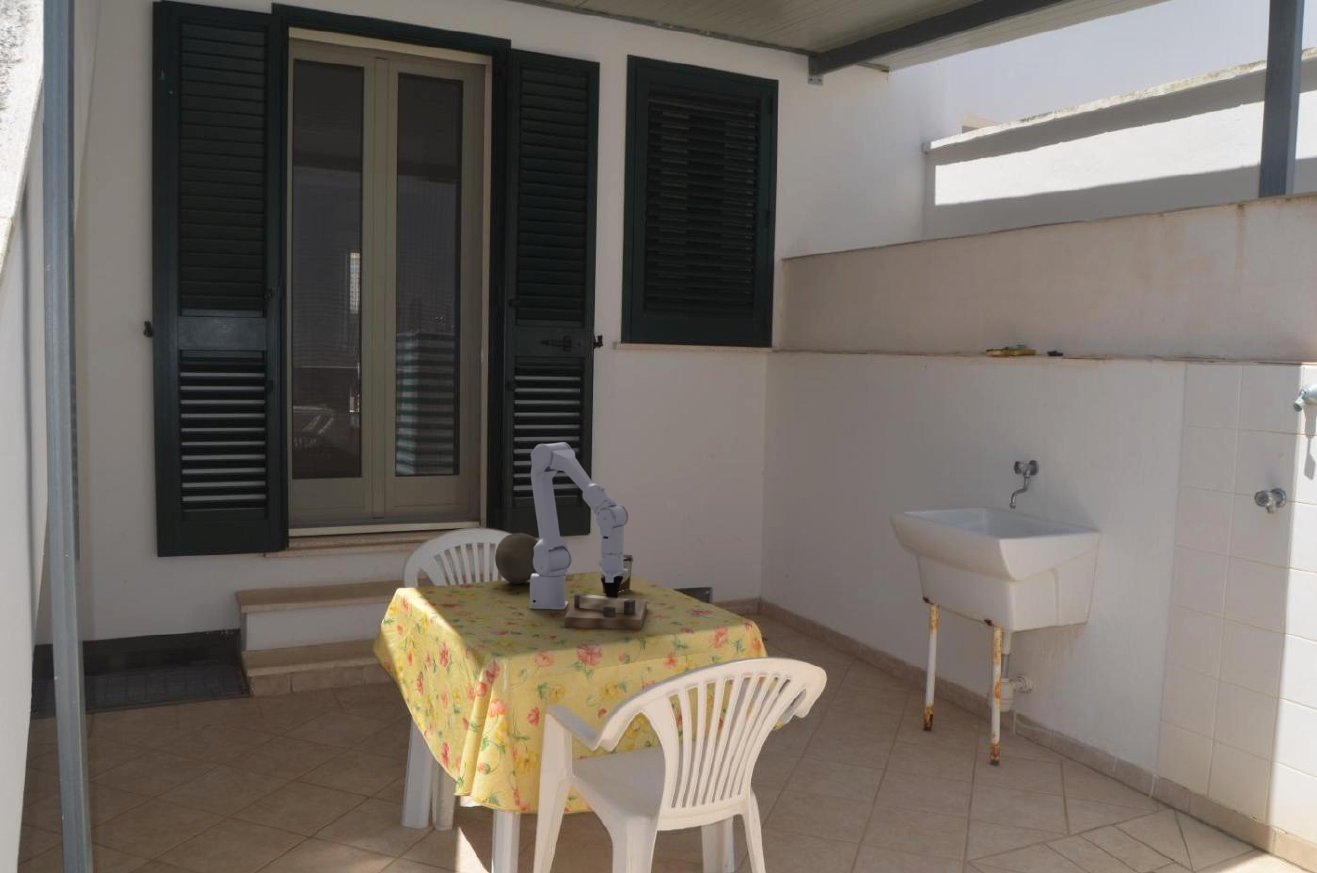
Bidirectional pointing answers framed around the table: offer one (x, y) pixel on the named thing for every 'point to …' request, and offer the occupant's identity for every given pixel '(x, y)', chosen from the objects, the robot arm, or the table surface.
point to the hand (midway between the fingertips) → (611, 604)
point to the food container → (626, 576)
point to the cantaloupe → (516, 557)
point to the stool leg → (604, 603)
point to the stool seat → (606, 617)
